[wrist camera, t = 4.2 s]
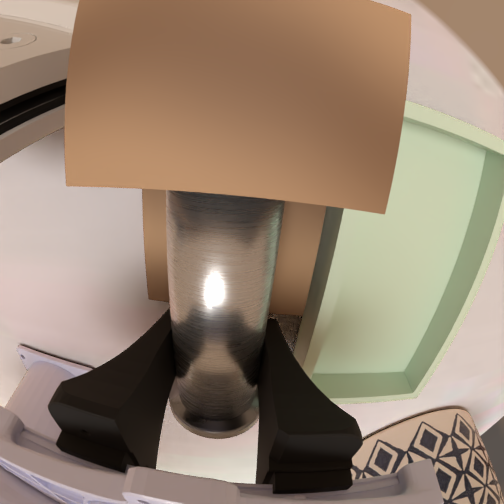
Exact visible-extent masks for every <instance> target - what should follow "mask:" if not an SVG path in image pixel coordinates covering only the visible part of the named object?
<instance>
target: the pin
mask: <svg viewBox="0 0 504 504" xmlns="http://www.w3.org/2000/svg"><path fill="white" fill-rule="evenodd" d="M284 207H285V201H284V200H275V199H266V198H256V197H246V196H236V195H225V194H214V193H201V192H188V191H174V190H166V233H167V265H168V285H169V301H170V315H171V328H172V339H173V349H174V359H175V367H176V377H175V380H174V383H173V386H172V388H171V391H170V394H169V402H170V407H171V410H172V413H173V415H174V417H175V418H176V420H177V421H178V422H179V423H180V424H181V425H182V426H183V427H184V428H186V429H187V430H189V431H190V432H192V433H194V434H197V435H199V436H202V437H207V438H214V439H223V438H230V437H234V436H237V435H240V434H242V433H244V432H246V431H247V430H249V429H250V428H251V427H252V426H253V425H254V424H255V423H256V422H257V421H258V419H259V401H258V388H257V379H258V373H259V368H260V362H261V356H262V350H263V344H264V338H265V332H266V326H267V320H268V314H269V308H270V301H271V295H272V289H273V282H274V276H275V269H276V262H277V256H278V249H279V242H280V235H281V228H282V221H283V214H284Z"/></svg>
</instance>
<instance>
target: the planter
mask: <svg viewBox="0 0 504 504" xmlns="http://www.w3.org/2000/svg"><path fill="white" fill-rule="evenodd" d="M425 459H431V461H432V464H433V467H434V470H435V473H436V476H437V480H438V483H439V486H440V490H441V493H442V497H443V501H444V503H443V504H504V498H503V495H502V492H501V489H500V486H499V483H498V480H497V478H496V475H495V472H494V469H493V467H492V464H491V461H490V459H489V456H488V454H487V452H486V449H485V447H484V444H483V442H482V440H481V437H480V435H479V433H478V431H477V428H476V426H475V424H474V422H473V420H472V418H471V416H470V414H469V413H468V412H466V411H465V410H461V409H446V410H440V411H435V412H431V413H427V414H423V415H420V416H417V417H414V418H411V419H409V420H406V421H403V422H401V423H398V424H396V425H393V426H391V427H389V428H387V429H385V430H382V431H380V432H378V433H376V434H374V435H372V436H370V437H369V438H367V439H365V440H363V445H362V446H361V448H360V449H359V450H358V452H357V453H356V454H355V455H354V456H353V458H352V463H353V467H352V469H351V475H352V480H356V479H363V478H370V477H376V476H381V475H387V474H392V473H397V472H398V471H399V470H400V469H401V468H402V467H403V466H405V465H407V464H410V463H413V462H417V461H421V460H425Z"/></svg>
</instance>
